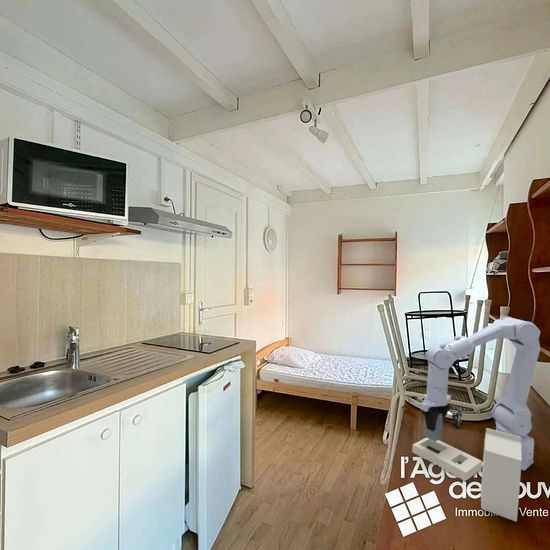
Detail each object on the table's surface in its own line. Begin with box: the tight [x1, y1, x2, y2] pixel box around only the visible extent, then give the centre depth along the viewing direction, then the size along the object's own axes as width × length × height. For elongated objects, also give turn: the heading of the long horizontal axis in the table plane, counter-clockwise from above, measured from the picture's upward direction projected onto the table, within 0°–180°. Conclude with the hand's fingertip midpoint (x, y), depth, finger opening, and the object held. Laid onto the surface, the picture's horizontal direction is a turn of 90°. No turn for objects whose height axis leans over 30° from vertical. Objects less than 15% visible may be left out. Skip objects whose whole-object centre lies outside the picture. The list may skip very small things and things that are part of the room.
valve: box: [446, 408, 463, 427], centre depth 125 cm, size 7×7×12 cm
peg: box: [422, 412, 444, 441], centre depth 103 cm, size 4×4×8 cm
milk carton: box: [480, 427, 522, 523], centre depth 80 cm, size 7×7×19 cm
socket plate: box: [411, 437, 483, 482], centre depth 99 cm, size 16×10×2 cm, turn 35°
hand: (434, 427), depth 102 cm, fingers closed on peg, 4 cm apart
